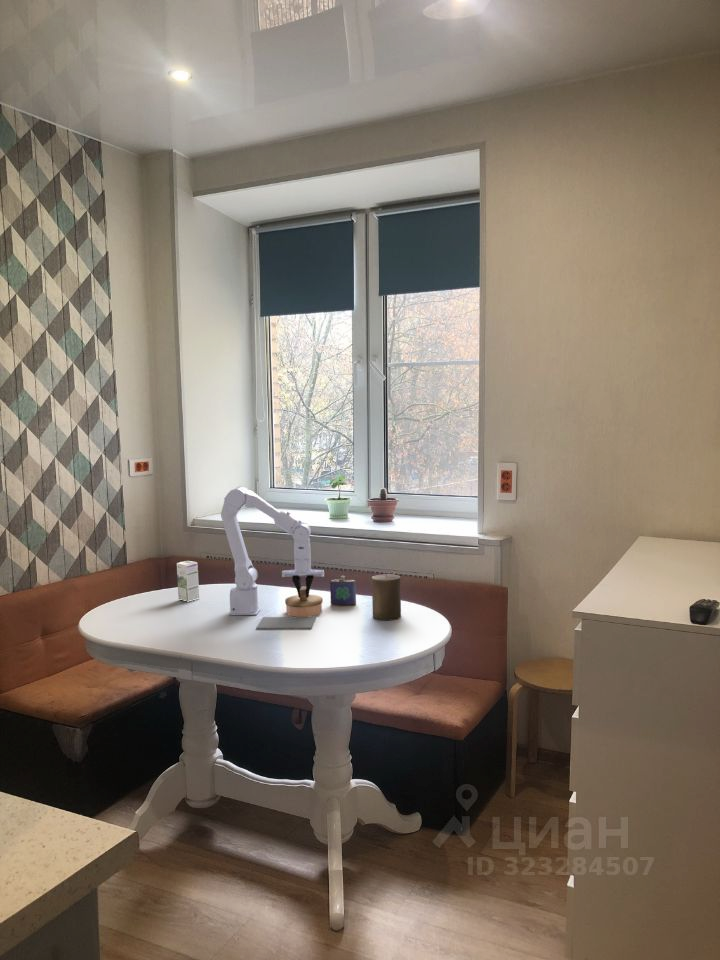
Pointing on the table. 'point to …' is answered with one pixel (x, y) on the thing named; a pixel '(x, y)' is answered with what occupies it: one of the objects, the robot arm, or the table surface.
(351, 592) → the flask
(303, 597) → the lid
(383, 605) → the pillar candle
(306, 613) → the bowl
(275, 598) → the table surface
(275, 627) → the mat
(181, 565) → the syrup box
